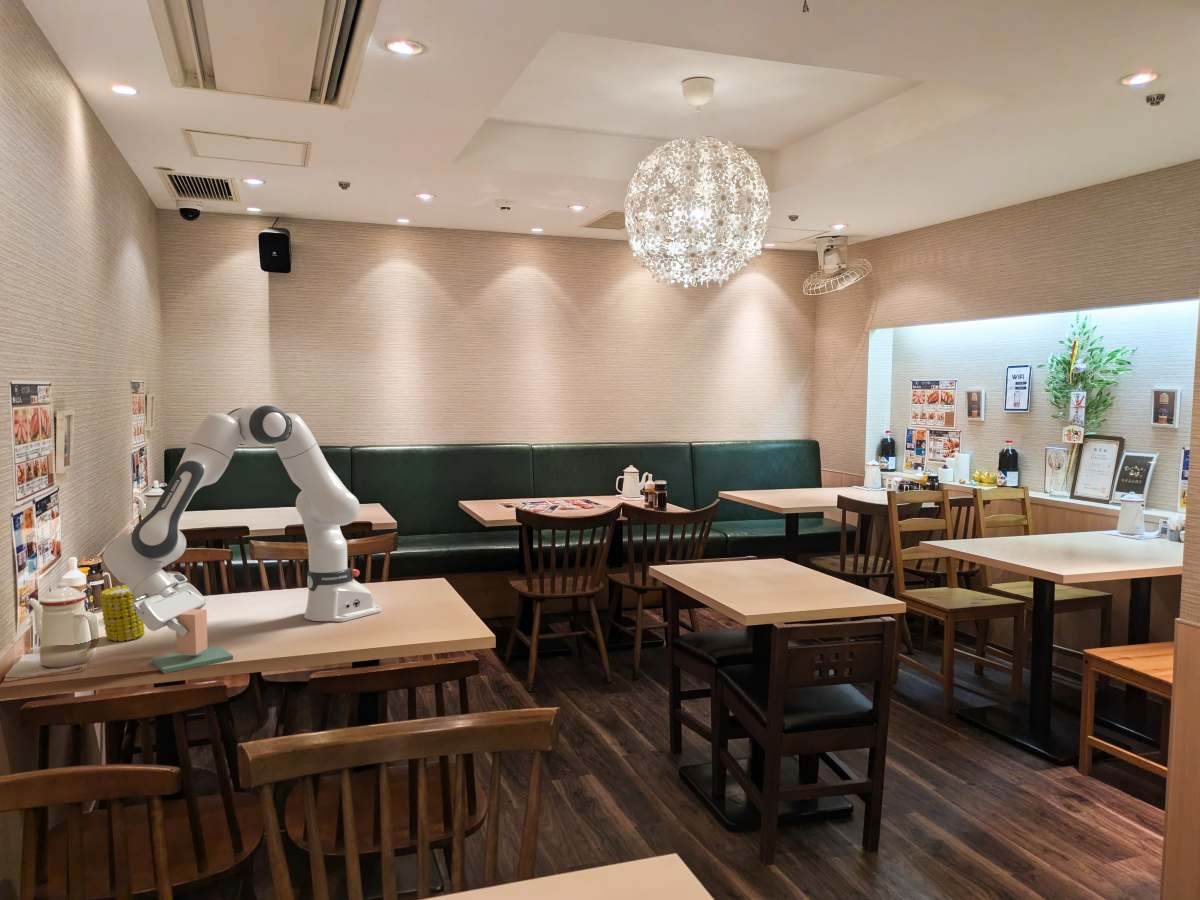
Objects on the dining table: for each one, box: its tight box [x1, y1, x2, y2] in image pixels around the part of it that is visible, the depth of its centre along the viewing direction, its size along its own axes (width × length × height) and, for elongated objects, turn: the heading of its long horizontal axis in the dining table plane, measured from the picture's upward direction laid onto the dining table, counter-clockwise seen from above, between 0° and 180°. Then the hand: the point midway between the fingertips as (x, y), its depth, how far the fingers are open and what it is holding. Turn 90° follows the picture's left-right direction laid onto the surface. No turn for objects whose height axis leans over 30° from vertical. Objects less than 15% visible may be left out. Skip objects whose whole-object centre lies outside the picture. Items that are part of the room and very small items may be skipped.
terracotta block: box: [175, 608, 208, 654], centre depth 209 cm, size 5×5×10 cm
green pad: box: [150, 645, 234, 674], centre depth 209 cm, size 16×11×1 cm
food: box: [99, 584, 146, 643], centre depth 228 cm, size 15×12×10 cm
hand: (194, 630), depth 209 cm, fingers closed on terracotta block, 5 cm apart
